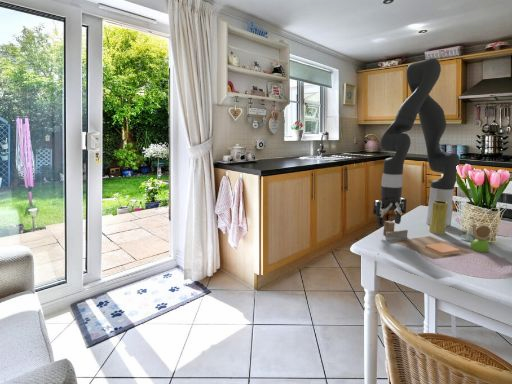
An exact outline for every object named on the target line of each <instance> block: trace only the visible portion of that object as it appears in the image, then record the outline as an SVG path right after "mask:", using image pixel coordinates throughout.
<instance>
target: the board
mask: <svg viewBox="0 0 512 384" xmlns="http://www.w3.org/2000/svg"><path fill="white" fill-rule="evenodd" d="M394 242H395V243H397V244H399V245H401V246H403V247H406V248H407V249H408V248H409V249H410V250H413V251H415V252H417V253H419V254H421V255H424V256H425V257H428V258H430V259H433V260H436V259H442V258H448V257H455V256H461V255H468V254H472V253H474V252H473V251H470V250H468V249H465V248H463V247H460V246H457V245H454V244H452V243H450V242H446V241H443V240H441V239H438V238H436V237H434V236H431V235H428V236H422V237H421V236H420V237H413V238H403V239H395V240H394ZM437 243H444V244H447V245H449V246H452V247H454V248H457V249H459V250H460V251H459V253H455V254H449V255H443V256H441V255H439V254H437V253H434V252H432V251H430V250H427V249H425V245H430V244H437Z"/></svg>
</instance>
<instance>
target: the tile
mask: <svg viewBox="0 0 512 384" xmlns="http://www.w3.org/2000/svg"><path fill="white" fill-rule="evenodd" d="M425 249H427V250H430V251H432V252H434V253H437V254H439V255H441V256H443V255H449V254H455V253H459V251H460V250H459V249H457V248H454V247H452V246H449V245H447V244H444V243H437V244H430V245H425Z"/></svg>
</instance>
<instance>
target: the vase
mask: <svg viewBox="0 0 512 384" xmlns="http://www.w3.org/2000/svg"><path fill="white" fill-rule="evenodd" d="M447 208H448V202H444V201H434V202H433V208H432V215H431V222H430V225H429V229H428V231H429V233H432V234H434V235H445V234H446V216H447Z"/></svg>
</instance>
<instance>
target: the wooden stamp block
mask: <svg viewBox="0 0 512 384" xmlns="http://www.w3.org/2000/svg"><path fill="white" fill-rule="evenodd" d="M395 225H396V223H395V221H394V222H393V221H391V220H385V221H384V220H383V232H382V233H383V234H382V235H384V236H385V241H391V240H392V241H394V240H401V239H408V229H404V230H396V231H395Z"/></svg>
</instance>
